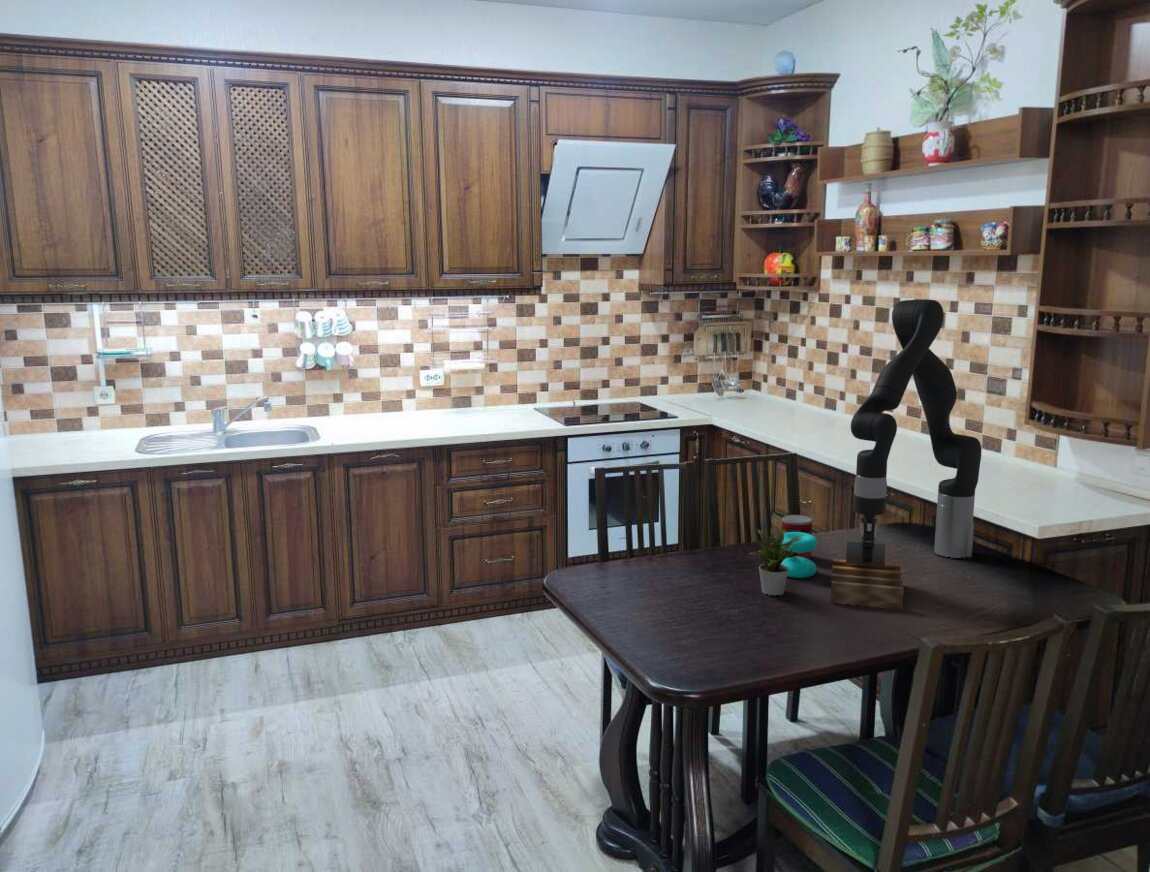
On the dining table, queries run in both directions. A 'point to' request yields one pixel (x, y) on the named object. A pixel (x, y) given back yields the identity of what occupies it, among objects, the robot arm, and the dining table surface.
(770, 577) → the house plant
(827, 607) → the dining table surface
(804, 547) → the turquoise curved double lobe
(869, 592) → the slotted rack
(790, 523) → the canned food
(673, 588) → the dining table surface
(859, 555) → the metal panel
